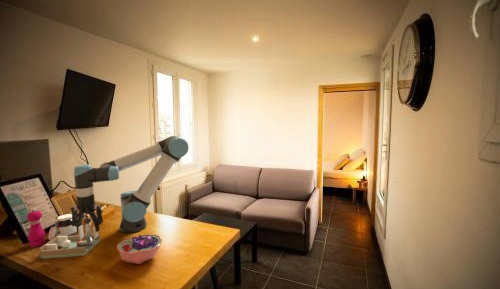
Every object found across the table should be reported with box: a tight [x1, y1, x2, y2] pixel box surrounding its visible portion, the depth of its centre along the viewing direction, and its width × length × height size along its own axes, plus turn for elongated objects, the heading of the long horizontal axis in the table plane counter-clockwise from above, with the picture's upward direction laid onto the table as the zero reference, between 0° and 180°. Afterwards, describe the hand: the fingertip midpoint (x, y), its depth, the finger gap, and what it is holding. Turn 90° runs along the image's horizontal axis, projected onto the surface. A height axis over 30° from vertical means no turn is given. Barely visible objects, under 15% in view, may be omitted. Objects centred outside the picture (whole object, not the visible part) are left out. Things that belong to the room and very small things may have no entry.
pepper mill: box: [26, 207, 46, 248], centre depth 126 cm, size 7×7×20 cm
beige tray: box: [38, 233, 101, 260], centre depth 122 cm, size 20×15×5 cm
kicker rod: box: [77, 217, 95, 247], centre depth 122 cm, size 7×4×15 cm, turn 97°
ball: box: [61, 240, 71, 247], centre depth 121 cm, size 4×4×4 cm
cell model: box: [116, 233, 163, 265], centre depth 111 cm, size 17×20×11 cm
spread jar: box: [47, 213, 77, 241], centre depth 134 cm, size 12×11×12 cm
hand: (88, 237), depth 122 cm, fingers open, 6 cm apart
